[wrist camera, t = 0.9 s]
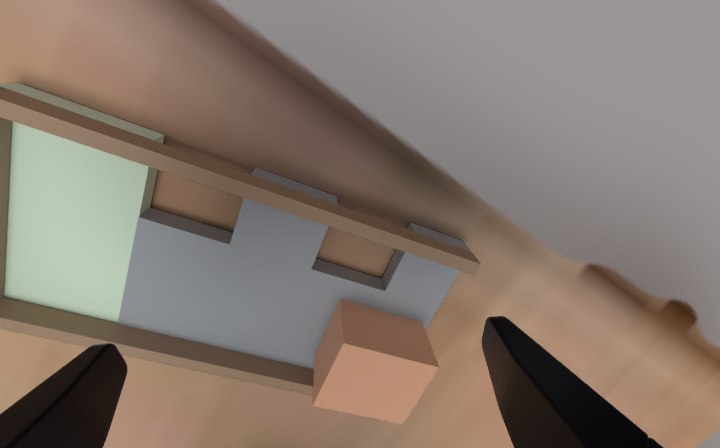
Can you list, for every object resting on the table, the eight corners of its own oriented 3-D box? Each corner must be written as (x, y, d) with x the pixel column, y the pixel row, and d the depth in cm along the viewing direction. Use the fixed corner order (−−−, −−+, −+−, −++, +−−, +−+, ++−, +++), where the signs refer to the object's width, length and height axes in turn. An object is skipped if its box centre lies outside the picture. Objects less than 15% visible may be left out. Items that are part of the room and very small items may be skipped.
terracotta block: (392, 374, 26) (403, 424, 23) (314, 355, 25) (312, 405, 21) (422, 322, 25) (439, 367, 21) (340, 299, 23) (343, 343, 20)
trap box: (384, 378, 29) (390, 412, 26) (7, 289, 22) (-37, 320, 20) (463, 241, 24) (480, 264, 21) (18, 82, 18) (-37, 86, 15)
